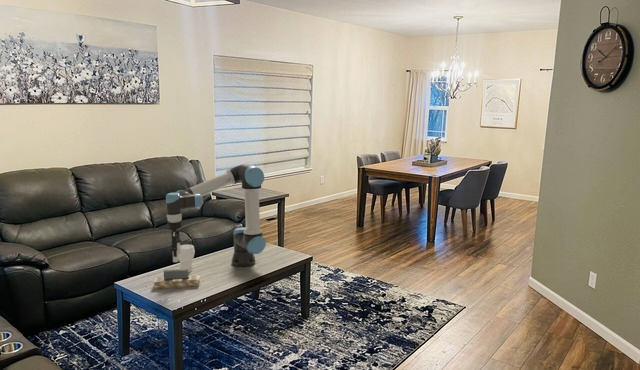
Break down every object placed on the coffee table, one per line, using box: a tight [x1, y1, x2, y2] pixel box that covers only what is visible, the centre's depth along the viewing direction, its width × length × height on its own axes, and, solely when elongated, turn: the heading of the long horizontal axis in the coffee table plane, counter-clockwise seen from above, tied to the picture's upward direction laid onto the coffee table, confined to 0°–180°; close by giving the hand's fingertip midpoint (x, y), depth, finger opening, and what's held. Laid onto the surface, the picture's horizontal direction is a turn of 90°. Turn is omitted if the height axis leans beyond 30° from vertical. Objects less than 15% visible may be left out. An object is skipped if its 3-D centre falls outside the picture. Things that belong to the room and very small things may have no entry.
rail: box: [153, 274, 201, 290], centre depth 260 cm, size 24×7×4 cm, turn 102°
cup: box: [178, 244, 196, 273], centre depth 282 cm, size 11×11×15 cm
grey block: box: [163, 268, 190, 280], centre depth 259 cm, size 13×3×8 cm, turn 102°
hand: (177, 257), depth 257 cm, fingers open, 13 cm apart
